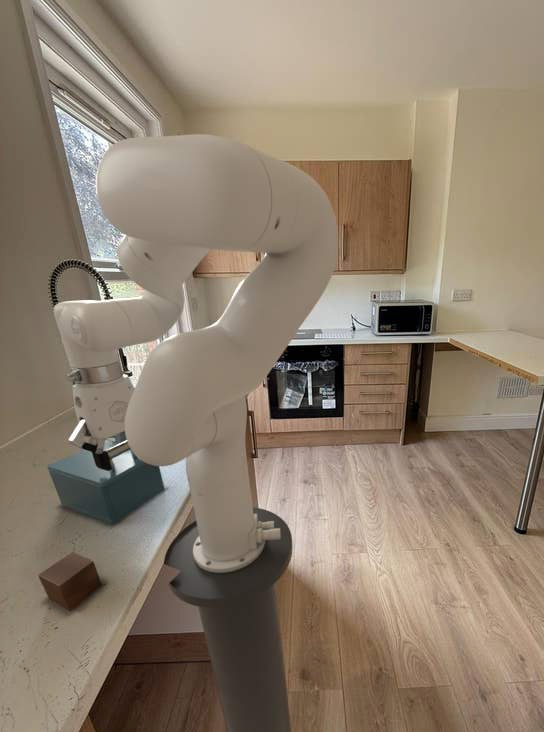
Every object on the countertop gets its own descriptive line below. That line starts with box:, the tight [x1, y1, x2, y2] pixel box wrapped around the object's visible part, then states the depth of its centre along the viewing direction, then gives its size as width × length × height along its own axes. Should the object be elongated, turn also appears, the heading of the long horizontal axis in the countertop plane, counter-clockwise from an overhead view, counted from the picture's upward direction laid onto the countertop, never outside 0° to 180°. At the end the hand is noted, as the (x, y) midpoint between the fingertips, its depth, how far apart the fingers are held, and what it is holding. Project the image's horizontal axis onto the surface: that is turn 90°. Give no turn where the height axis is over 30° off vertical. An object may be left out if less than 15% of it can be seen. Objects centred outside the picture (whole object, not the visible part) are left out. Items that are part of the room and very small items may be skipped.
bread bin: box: [48, 463, 165, 526], centre depth 74 cm, size 16×13×9 cm
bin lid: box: [46, 439, 145, 487], centre depth 71 cm, size 17×13×5 cm
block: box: [37, 551, 103, 612], centre depth 52 cm, size 5×5×5 cm
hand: (122, 459), depth 69 cm, fingers open, 6 cm apart
